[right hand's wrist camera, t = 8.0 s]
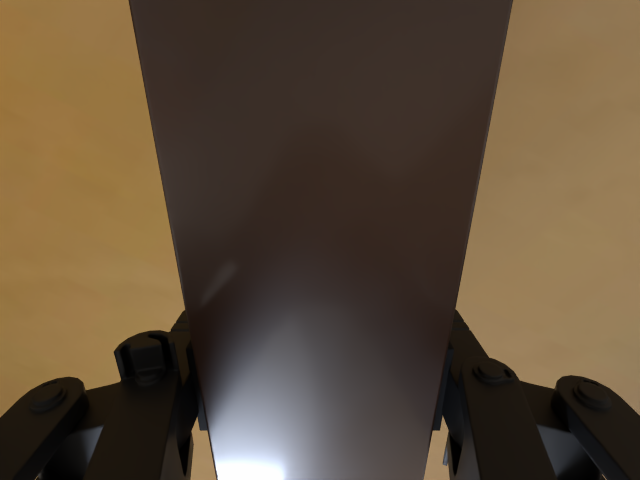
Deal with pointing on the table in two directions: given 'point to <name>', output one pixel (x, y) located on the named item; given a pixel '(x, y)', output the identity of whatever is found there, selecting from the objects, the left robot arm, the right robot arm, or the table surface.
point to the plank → (320, 215)
